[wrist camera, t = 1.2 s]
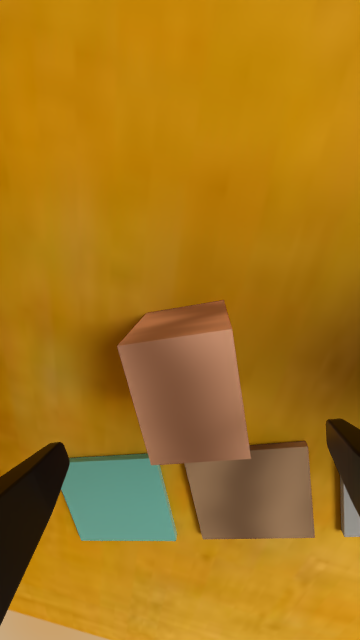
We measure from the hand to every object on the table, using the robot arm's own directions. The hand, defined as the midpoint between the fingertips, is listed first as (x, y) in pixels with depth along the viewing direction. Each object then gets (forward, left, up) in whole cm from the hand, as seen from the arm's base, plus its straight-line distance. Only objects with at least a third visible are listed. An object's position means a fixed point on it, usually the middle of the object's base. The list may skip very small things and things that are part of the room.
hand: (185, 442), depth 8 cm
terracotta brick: (0, 0, -7) cm, 7 cm away
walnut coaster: (-2, +11, -8) cm, 13 cm away
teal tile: (+8, +11, -8) cm, 16 cm away
